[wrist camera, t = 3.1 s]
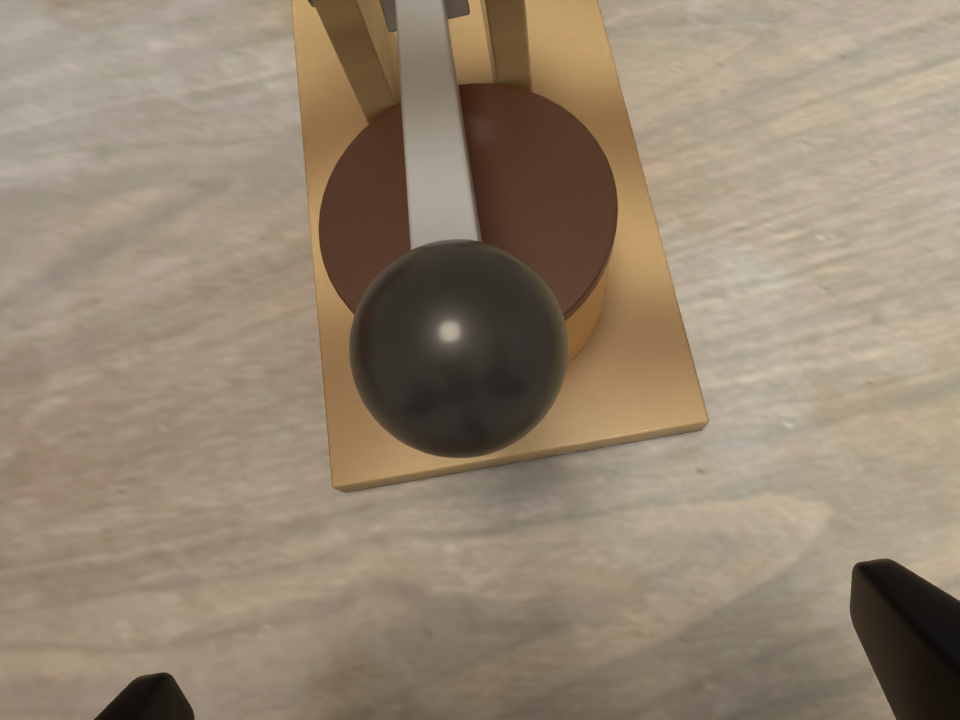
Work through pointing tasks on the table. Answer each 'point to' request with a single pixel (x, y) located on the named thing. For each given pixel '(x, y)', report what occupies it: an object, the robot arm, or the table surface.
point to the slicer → (632, 265)
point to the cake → (486, 199)
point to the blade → (451, 282)
